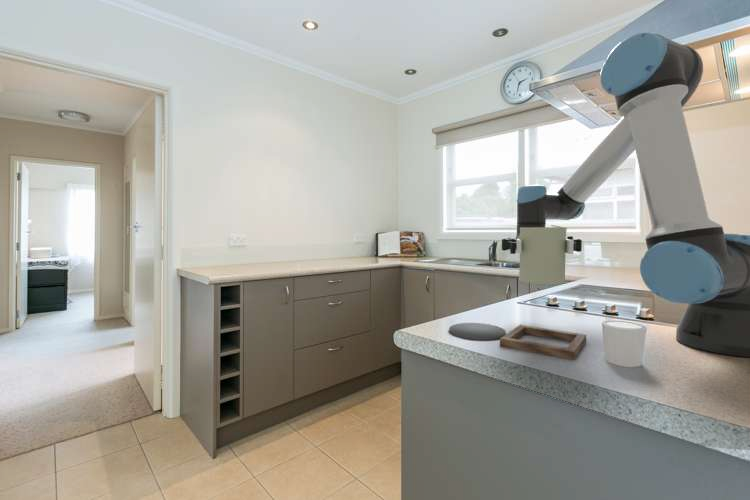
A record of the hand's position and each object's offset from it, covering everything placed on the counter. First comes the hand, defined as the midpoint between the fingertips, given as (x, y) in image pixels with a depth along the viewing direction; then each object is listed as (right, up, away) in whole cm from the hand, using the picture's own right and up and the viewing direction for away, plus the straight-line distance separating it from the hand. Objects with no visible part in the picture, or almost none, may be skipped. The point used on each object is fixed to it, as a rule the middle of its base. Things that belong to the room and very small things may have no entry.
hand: (544, 246), depth 74 cm
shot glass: (+12, -22, -6) cm, 25 cm away
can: (+2, -8, +5) cm, 9 cm away
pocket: (+2, -21, +5) cm, 22 cm away
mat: (-10, -20, +14) cm, 27 cm away
